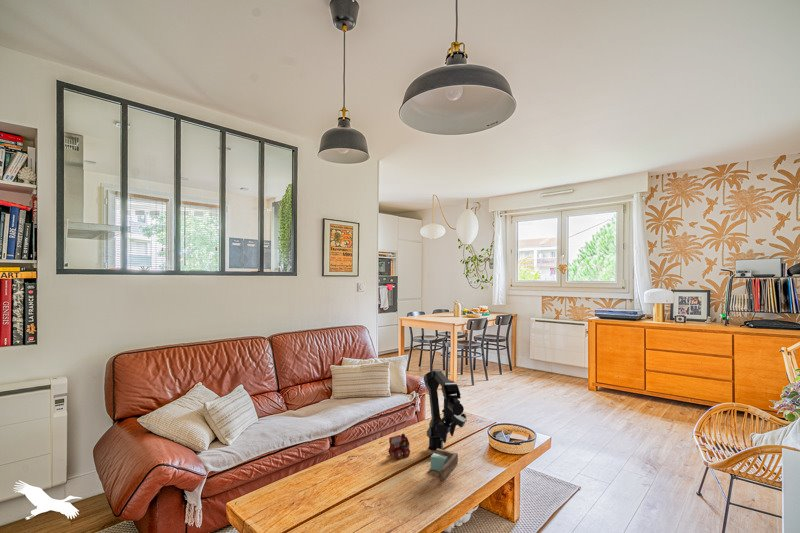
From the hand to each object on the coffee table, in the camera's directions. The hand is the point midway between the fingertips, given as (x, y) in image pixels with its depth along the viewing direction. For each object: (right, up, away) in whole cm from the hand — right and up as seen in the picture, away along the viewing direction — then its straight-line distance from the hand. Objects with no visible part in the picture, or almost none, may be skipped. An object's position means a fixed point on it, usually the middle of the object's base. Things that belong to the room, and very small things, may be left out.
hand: (448, 439), depth 190 cm
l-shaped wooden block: (-5, -11, -7) cm, 14 cm away
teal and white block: (-5, -11, -7) cm, 14 cm away
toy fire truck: (-24, -12, +7) cm, 28 cm away
